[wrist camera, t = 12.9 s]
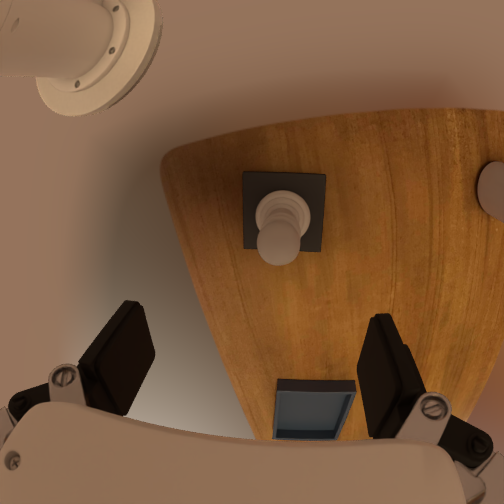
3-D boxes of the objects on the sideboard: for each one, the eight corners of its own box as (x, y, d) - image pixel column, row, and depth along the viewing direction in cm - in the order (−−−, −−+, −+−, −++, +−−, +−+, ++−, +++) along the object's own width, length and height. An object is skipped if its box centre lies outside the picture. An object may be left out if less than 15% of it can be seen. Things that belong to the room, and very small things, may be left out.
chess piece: (259, 243, 30) (247, 286, 22) (252, 192, 28) (236, 218, 20) (311, 239, 29) (318, 282, 21) (307, 187, 27) (315, 211, 19)
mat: (243, 171, 28) (242, 172, 28) (325, 174, 27) (326, 175, 27) (244, 246, 31) (243, 249, 31) (320, 250, 30) (320, 252, 30)
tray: (277, 378, 39) (276, 390, 37) (354, 380, 37) (356, 391, 35) (273, 429, 44) (272, 439, 42) (336, 430, 43) (336, 440, 41)
